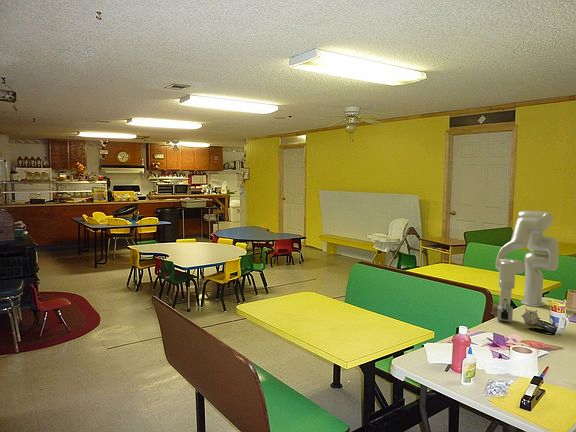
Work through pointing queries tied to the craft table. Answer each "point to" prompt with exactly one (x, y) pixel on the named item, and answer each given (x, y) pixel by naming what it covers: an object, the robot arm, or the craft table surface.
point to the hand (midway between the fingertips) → (504, 316)
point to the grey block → (510, 313)
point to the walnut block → (494, 309)
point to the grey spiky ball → (530, 317)
